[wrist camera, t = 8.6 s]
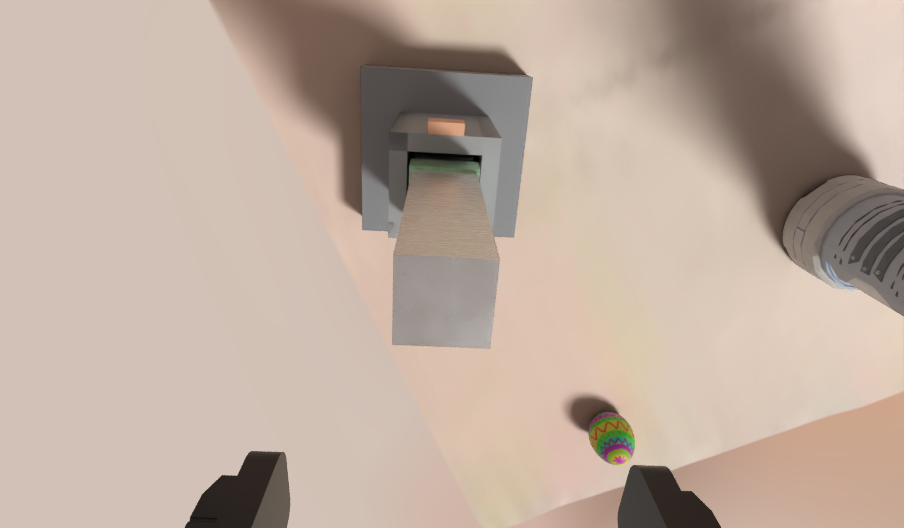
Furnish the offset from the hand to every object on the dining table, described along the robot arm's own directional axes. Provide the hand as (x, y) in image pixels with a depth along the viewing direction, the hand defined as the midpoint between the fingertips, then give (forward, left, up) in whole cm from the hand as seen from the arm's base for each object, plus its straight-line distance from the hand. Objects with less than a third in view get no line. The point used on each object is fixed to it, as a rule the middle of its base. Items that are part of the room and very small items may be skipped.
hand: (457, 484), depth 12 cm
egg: (+31, +21, -38) cm, 53 cm away
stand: (0, 0, -38) cm, 38 cm away
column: (0, 0, -29) cm, 29 cm away
